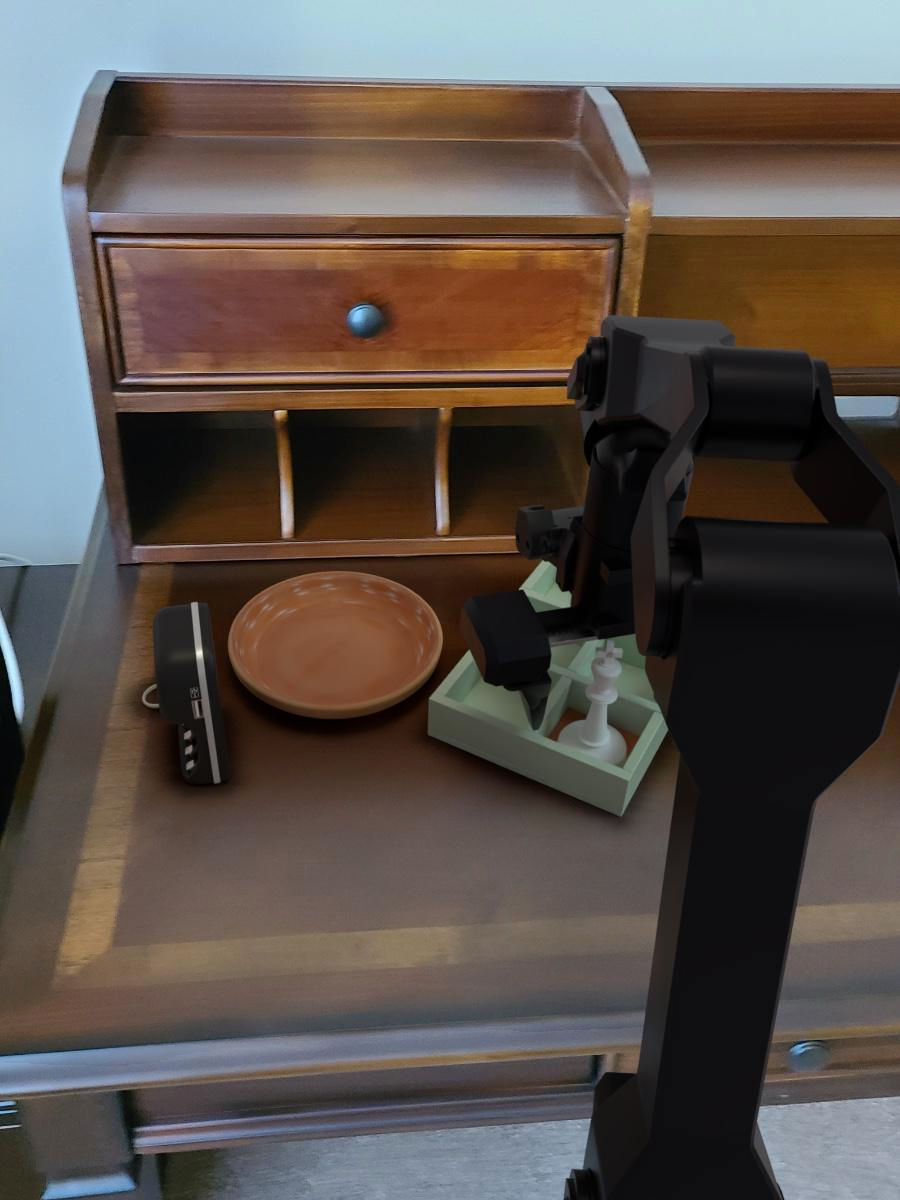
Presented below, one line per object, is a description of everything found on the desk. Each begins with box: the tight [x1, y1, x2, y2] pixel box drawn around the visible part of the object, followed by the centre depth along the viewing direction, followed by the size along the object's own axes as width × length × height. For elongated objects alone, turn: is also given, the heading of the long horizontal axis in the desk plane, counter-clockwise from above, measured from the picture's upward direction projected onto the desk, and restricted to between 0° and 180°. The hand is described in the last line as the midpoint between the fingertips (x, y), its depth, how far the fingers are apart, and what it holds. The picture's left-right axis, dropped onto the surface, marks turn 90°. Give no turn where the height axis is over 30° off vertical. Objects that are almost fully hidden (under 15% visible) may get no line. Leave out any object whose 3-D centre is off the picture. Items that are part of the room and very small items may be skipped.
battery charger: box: [152, 601, 231, 785], centre depth 70 cm, size 7×4×11 cm, turn 14°
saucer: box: [227, 570, 444, 720], centre depth 81 cm, size 16×16×3 cm
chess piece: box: [557, 640, 627, 768], centre depth 71 cm, size 5×5×10 cm
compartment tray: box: [427, 559, 669, 818], centre depth 80 cm, size 22×15×4 cm
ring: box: [141, 683, 160, 709], centre depth 78 cm, size 3×1×3 cm
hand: (596, 713), depth 72 cm, fingers open, 9 cm apart
